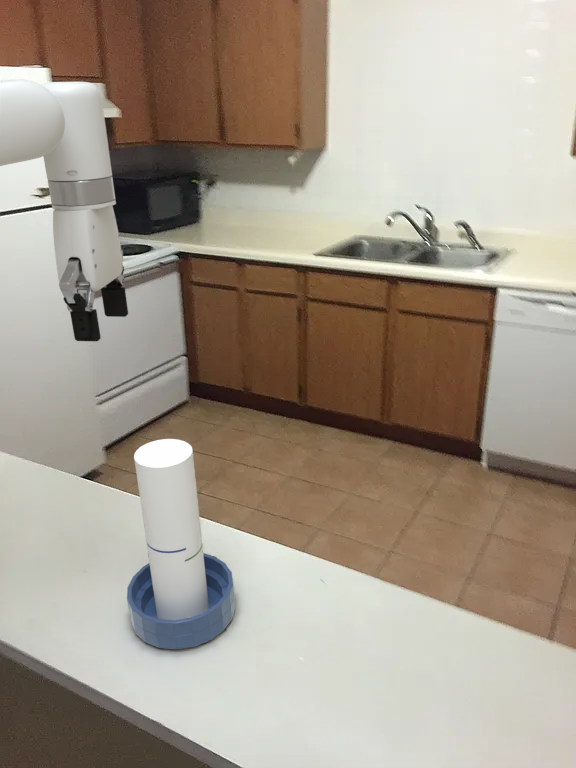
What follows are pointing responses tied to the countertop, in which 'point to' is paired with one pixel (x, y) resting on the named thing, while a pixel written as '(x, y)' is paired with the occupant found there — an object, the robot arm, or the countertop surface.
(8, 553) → the countertop surface
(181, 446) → the cylindrical container
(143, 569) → the bowl
